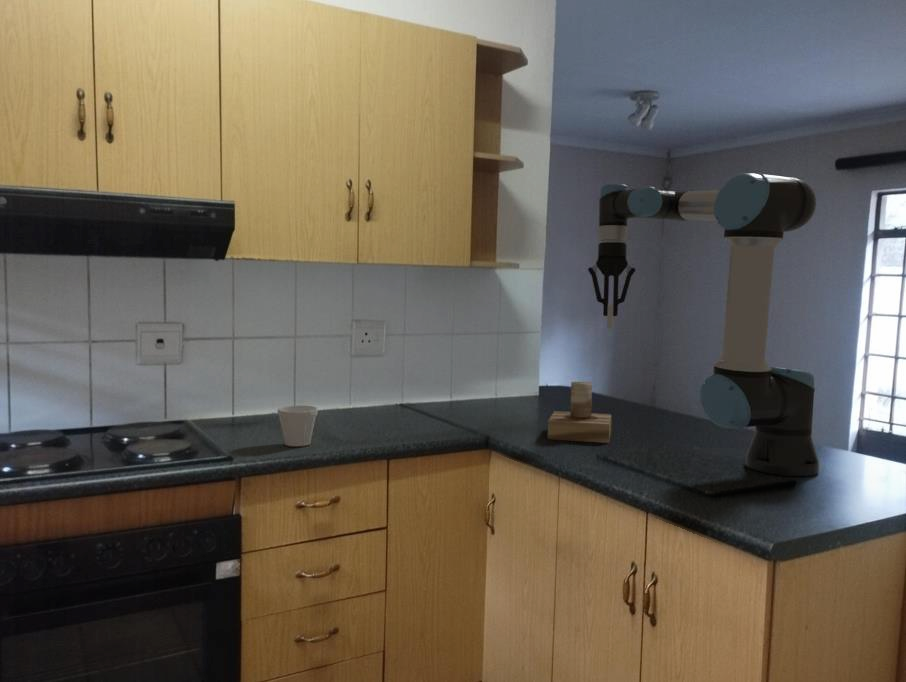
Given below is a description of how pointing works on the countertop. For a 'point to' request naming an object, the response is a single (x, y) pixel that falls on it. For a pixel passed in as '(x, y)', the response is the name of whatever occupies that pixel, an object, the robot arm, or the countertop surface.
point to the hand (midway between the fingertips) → (610, 328)
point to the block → (579, 427)
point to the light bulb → (581, 400)
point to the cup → (297, 424)
